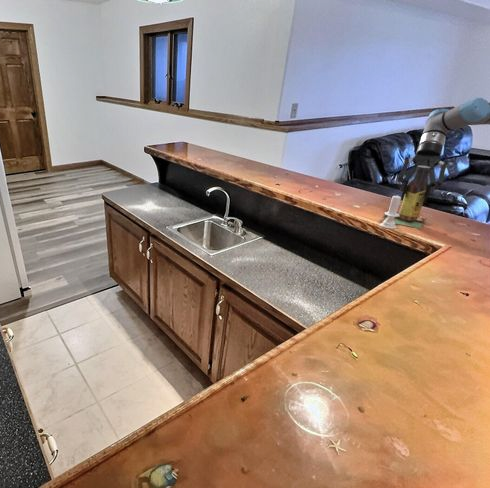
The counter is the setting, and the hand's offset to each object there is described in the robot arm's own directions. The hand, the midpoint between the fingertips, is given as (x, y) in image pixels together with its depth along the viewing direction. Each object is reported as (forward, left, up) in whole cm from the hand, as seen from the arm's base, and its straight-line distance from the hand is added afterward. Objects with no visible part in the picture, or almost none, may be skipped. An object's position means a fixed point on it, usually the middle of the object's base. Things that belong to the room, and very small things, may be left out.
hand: (413, 200), depth 126 cm
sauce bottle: (0, -4, -9) cm, 9 cm away
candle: (+5, +5, -10) cm, 12 cm away
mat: (+1, -4, -10) cm, 10 cm away
